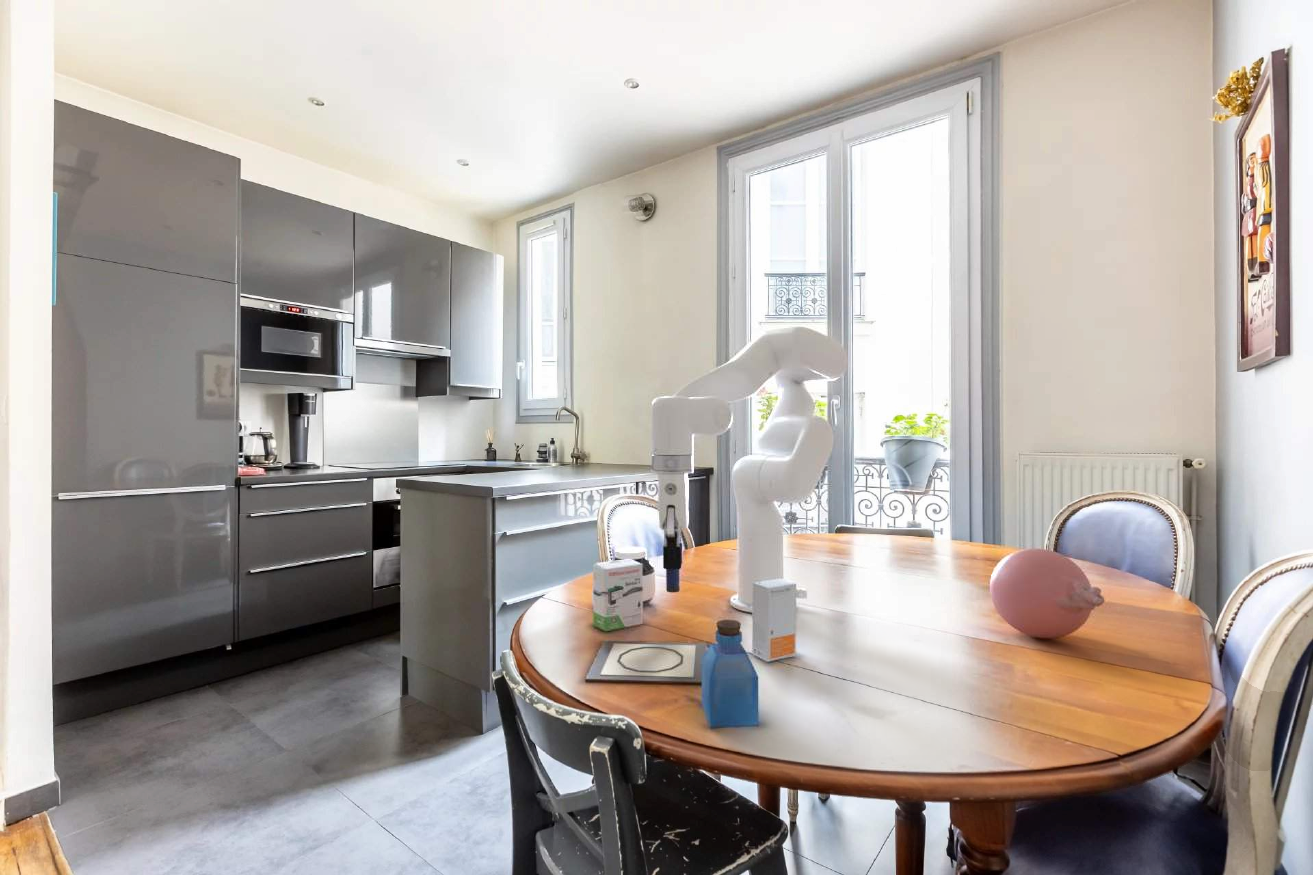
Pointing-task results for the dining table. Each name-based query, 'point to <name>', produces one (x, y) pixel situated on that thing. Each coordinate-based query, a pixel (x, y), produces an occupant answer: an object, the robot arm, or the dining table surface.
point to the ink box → (617, 594)
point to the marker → (672, 580)
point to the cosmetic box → (774, 619)
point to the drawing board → (648, 662)
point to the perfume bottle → (729, 680)
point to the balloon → (1042, 593)
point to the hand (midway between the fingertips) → (672, 565)
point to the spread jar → (647, 569)
